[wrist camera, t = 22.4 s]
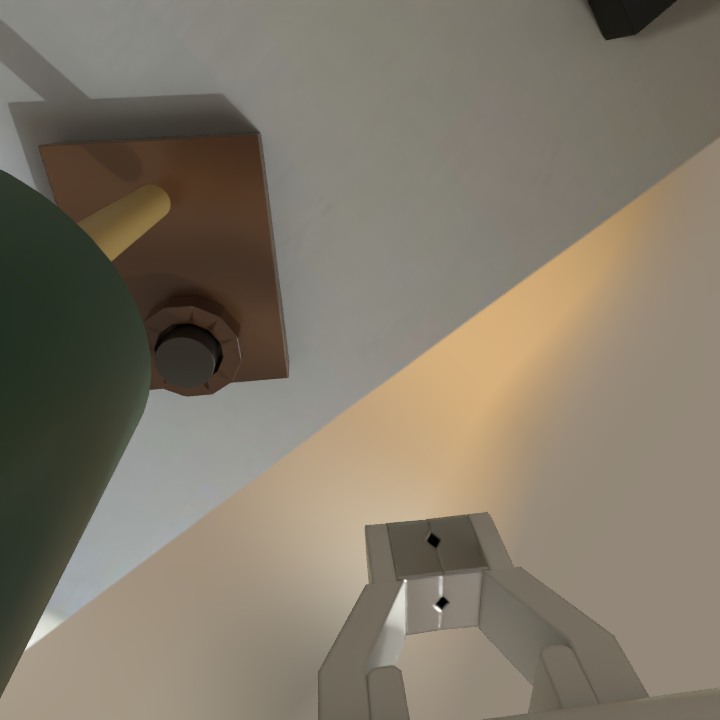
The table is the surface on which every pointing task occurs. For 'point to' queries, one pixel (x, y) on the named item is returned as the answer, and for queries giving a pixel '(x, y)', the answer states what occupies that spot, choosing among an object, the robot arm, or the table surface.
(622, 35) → the dimmer
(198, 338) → the button
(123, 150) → the lamp base
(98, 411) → the lamp
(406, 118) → the table surface
